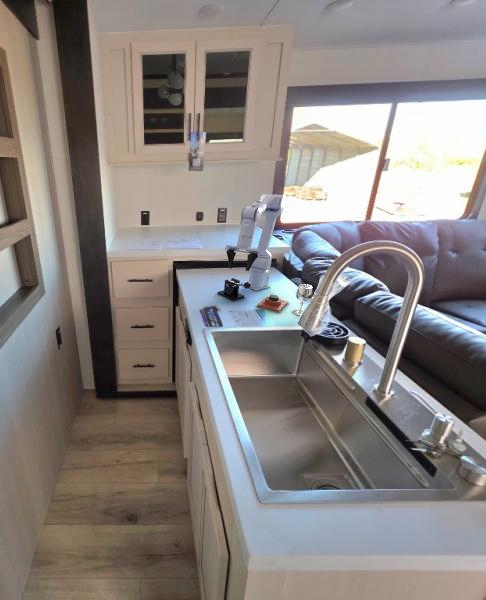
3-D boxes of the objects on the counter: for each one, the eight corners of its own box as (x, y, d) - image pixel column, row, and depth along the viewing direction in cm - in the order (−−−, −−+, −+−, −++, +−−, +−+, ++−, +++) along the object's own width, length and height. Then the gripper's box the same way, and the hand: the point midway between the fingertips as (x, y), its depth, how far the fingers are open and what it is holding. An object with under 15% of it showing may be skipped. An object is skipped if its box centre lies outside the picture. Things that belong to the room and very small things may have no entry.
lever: (252, 288, 136) (252, 281, 135) (247, 289, 134) (247, 282, 134) (232, 286, 146) (231, 280, 145) (227, 287, 144) (227, 281, 144)
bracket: (244, 298, 144) (246, 282, 141) (233, 301, 140) (235, 285, 137) (228, 291, 152) (230, 275, 148) (217, 293, 148) (219, 278, 145)
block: (267, 298, 143) (268, 292, 142) (287, 303, 138) (288, 297, 137) (257, 307, 135) (258, 300, 134) (278, 313, 130) (279, 306, 128)
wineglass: (300, 317, 126) (307, 289, 121) (288, 312, 130) (294, 285, 125) (310, 314, 128) (316, 287, 123) (298, 309, 133) (304, 282, 128)
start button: (270, 297, 138) (271, 293, 137) (279, 299, 136) (279, 296, 135) (267, 300, 135) (268, 296, 134) (276, 302, 133) (277, 298, 132)
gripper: (232, 234, 124) (225, 268, 127) (266, 240, 126) (258, 273, 129) (226, 234, 131) (219, 266, 134) (258, 239, 133) (251, 270, 136)
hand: (238, 269), depth 132 cm, fingers open, 7 cm apart
